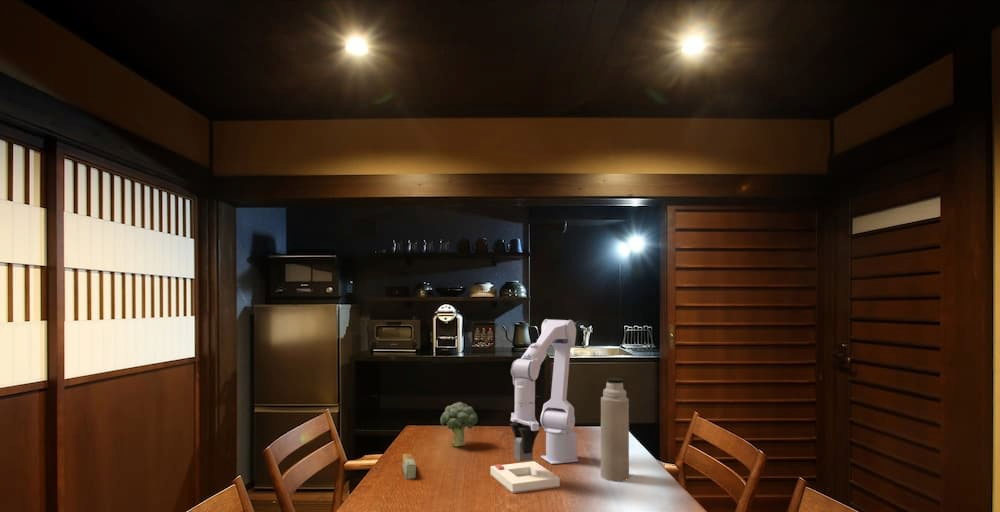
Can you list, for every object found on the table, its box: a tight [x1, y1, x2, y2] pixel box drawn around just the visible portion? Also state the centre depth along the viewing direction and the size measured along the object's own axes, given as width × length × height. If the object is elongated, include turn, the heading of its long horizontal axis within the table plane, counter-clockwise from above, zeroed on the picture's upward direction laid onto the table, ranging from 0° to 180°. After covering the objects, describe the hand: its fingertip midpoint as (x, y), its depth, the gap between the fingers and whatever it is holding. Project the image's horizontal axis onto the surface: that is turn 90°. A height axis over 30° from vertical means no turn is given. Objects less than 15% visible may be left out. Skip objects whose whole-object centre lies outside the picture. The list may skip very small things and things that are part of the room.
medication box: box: [402, 453, 417, 480], centre depth 165 cm, size 12×3×4 cm, turn 15°
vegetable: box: [439, 401, 479, 447], centre depth 194 cm, size 12×13×15 cm
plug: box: [513, 437, 534, 463], centre depth 159 cm, size 4×4×6 cm
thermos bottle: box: [600, 377, 630, 482], centre depth 164 cm, size 8×8×28 cm
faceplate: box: [489, 460, 561, 494], centre depth 159 cm, size 14×16×3 cm
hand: (524, 451), depth 159 cm, fingers closed on plug, 4 cm apart
